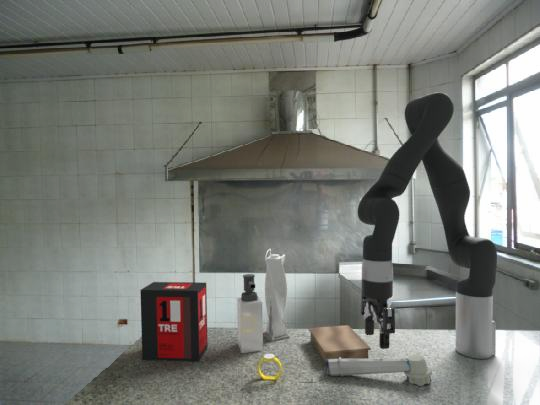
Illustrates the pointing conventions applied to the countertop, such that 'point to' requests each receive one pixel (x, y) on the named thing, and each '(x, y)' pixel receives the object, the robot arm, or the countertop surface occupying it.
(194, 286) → the cleaning product box
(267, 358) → the watch
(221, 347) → the countertop surface
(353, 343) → the stand
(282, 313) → the skyscraper
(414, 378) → the white handheld device
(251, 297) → the soap dispenser
